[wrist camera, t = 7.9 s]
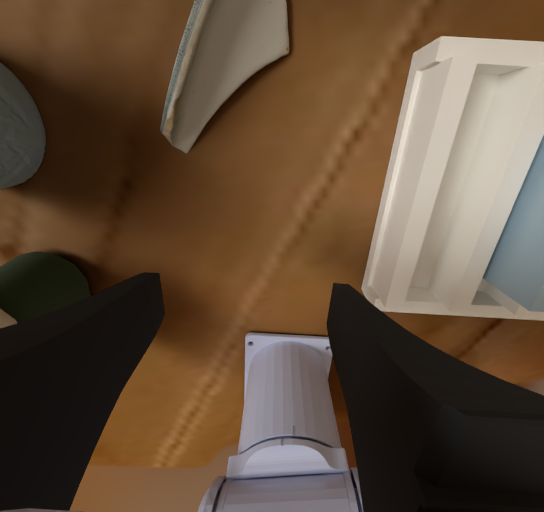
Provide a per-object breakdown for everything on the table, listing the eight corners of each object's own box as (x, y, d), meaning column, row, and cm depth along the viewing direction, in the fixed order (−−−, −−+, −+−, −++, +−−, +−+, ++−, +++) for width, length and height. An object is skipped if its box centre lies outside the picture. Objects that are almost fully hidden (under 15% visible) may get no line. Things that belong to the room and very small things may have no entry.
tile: (487, 264, 20) (566, 313, 15) (460, 262, 20) (529, 311, 15) (545, 130, 16) (679, 129, 11) (511, 128, 16) (629, 126, 11)
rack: (542, 299, 22) (594, 331, 19) (361, 289, 22) (377, 319, 19) (671, 67, 16) (789, 47, 12) (413, 53, 16) (453, 28, 12)
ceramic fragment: (260, -134, 13) (252, -229, 10) (346, -62, 14) (367, -124, 11) (162, 137, 19) (134, 139, 15) (229, 176, 19) (217, 186, 16)
